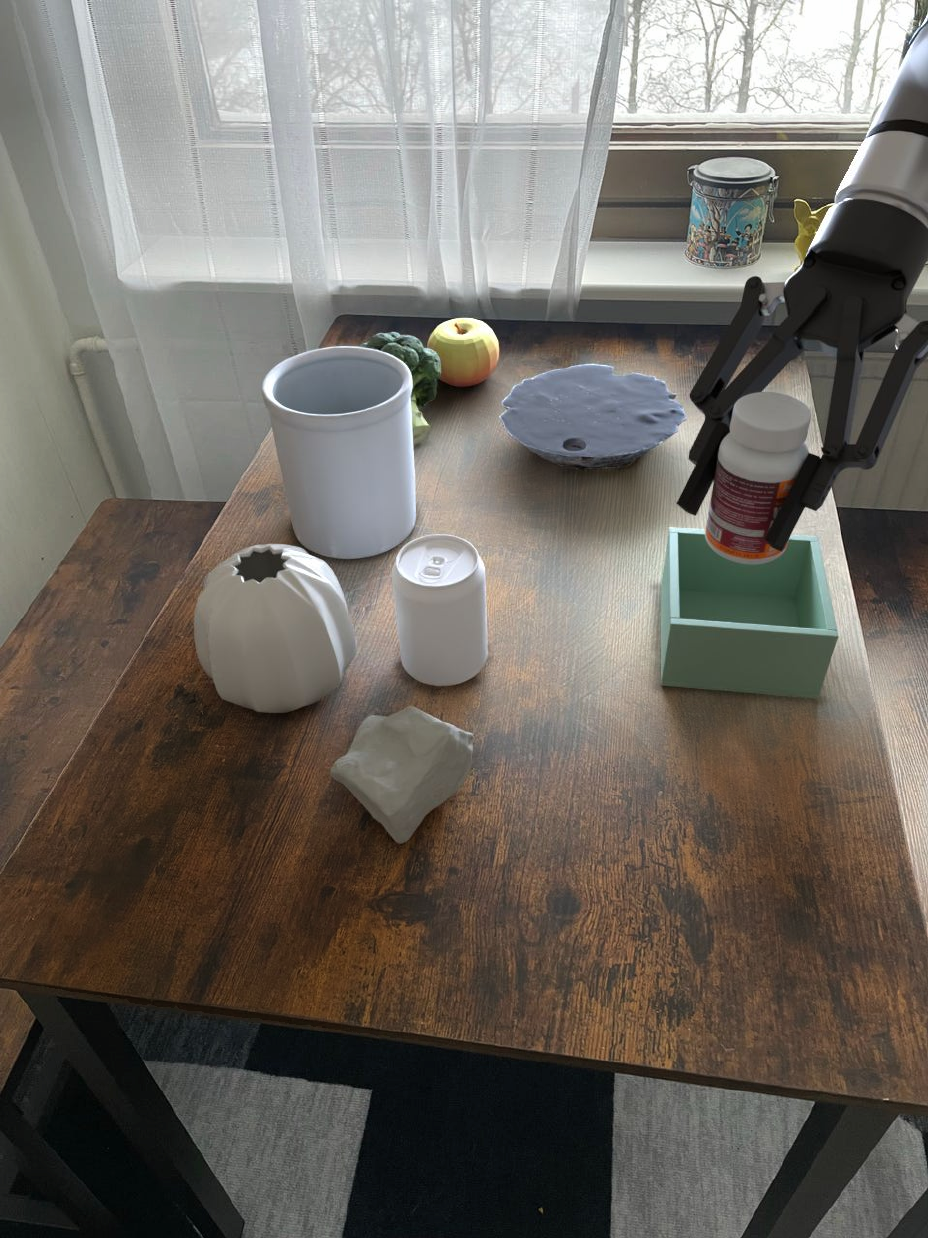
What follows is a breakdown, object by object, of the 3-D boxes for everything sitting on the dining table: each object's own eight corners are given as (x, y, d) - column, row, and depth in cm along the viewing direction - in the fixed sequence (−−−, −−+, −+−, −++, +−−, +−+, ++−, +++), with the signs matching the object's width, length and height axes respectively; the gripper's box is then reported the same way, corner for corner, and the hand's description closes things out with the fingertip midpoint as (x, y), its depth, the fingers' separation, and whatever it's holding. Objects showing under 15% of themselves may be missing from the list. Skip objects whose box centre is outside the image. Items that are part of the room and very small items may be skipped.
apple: (414, 376, 127) (409, 320, 122) (470, 354, 131) (468, 299, 126) (457, 403, 121) (454, 346, 116) (514, 379, 125) (514, 323, 120)
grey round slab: (593, 517, 102) (595, 478, 98) (463, 441, 114) (461, 404, 111) (717, 442, 112) (724, 404, 109) (585, 380, 125) (587, 344, 121)
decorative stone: (374, 706, 80) (432, 660, 73) (446, 781, 81) (511, 742, 73) (296, 790, 73) (353, 747, 65) (377, 871, 73) (442, 838, 66)
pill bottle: (776, 576, 67) (810, 442, 59) (693, 555, 69) (715, 422, 62) (794, 529, 71) (828, 397, 63) (715, 510, 73) (739, 380, 66)
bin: (818, 699, 81) (838, 636, 76) (660, 685, 83) (670, 623, 78) (801, 597, 91) (818, 536, 86) (660, 587, 93) (669, 526, 88)
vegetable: (347, 451, 110) (312, 351, 114) (407, 478, 120) (374, 386, 125) (426, 395, 105) (386, 293, 109) (482, 429, 115) (444, 335, 120)
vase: (365, 720, 81) (347, 607, 72) (206, 741, 80) (166, 629, 71) (356, 616, 91) (339, 505, 82) (215, 634, 90) (181, 523, 81)
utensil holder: (357, 469, 111) (338, 331, 99) (450, 514, 103) (442, 371, 91) (262, 528, 103) (229, 385, 91) (356, 581, 95) (333, 433, 83)
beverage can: (498, 638, 88) (496, 538, 80) (473, 698, 83) (468, 598, 74) (418, 623, 90) (408, 524, 82) (388, 681, 85) (375, 581, 76)
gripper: (1028, 281, 62) (865, 590, 64) (766, 222, 72) (631, 493, 74) (1033, 224, 56) (851, 570, 58) (744, 168, 65) (598, 466, 67)
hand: (728, 526), depth 66 cm, fingers closed on pill bottle, 6 cm apart
